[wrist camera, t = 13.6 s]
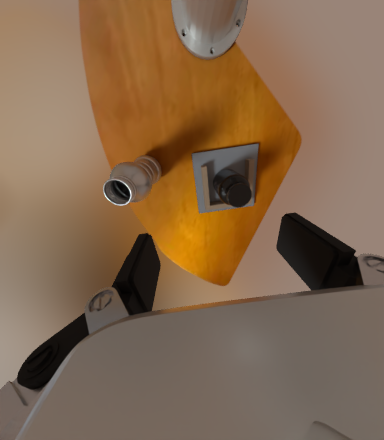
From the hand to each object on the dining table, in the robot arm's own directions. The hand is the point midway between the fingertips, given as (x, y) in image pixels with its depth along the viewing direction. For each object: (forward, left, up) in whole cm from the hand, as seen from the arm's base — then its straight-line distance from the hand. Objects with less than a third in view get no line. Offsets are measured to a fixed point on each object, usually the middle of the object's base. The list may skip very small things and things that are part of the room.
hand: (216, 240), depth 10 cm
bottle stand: (+4, +8, -30) cm, 32 cm away
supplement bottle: (+4, +8, -30) cm, 31 cm away
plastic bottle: (-2, -11, -31) cm, 32 cm away
